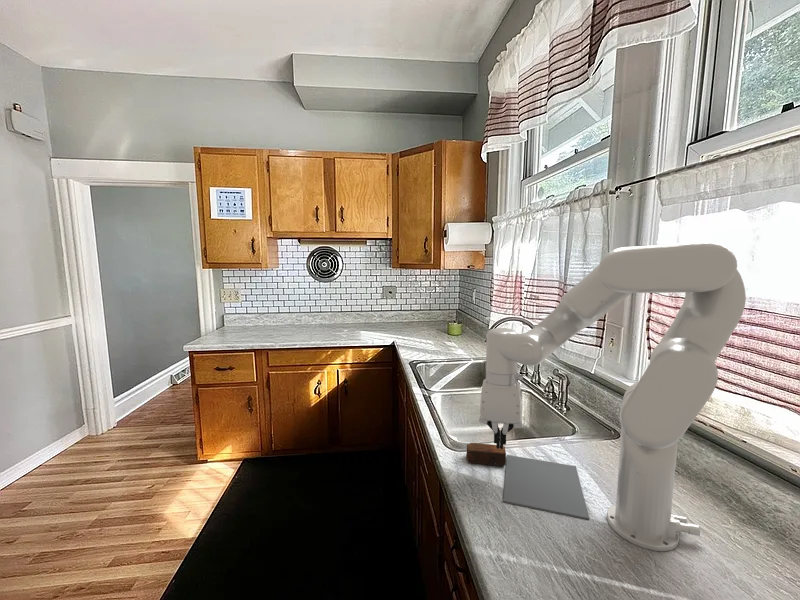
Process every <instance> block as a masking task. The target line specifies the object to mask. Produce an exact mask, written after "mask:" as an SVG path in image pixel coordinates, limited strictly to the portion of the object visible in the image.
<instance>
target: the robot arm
mask: <svg viewBox="0 0 800 600" xmlns="http://www.w3.org/2000/svg"><path fill="white" fill-rule="evenodd" d="M745 288H746V287H745V284H744V281H743V278H742V275H741V273H740V272H739V270H738V260H737V258H736V256H735V254H734V252H733V251H732V250H731V249H729V248H728V247H727V246H725V245H723V244H721V243H718V242H714V241H692V242H683V243H682V242H680V243H668V244H667V243H666V244H659V245H645V246H643V245H642V246H623V247H617V248H614V249H612V250H611V251H609V252H608V253H606V254H605V255H604V256H603V257H602V259H600V262H599V264H598V265H596V267H594V268H593V269H592V270H591V271H590V272H589V273H588V274H587V275H586V276H584V277H583V278H582V279H581V280H580V281H579V282H578V283H576V284H575V285H574V286H573V287H572V288H570V289H569V290H568V291H567V292H565V294H564V295H563V296H562V297H561V300H560V302H559V304H558V305H557V306H556V307H555V308H554V309H553V310H552V311H551V312H550V313H549V314H548V315H547V316H545V318H544V319H542V320H541V321H540V322H539V323H538V324H536V325H535V326H534V327H533V328H532V329H530V330H528V331H527V332H522V333H517V332H516V331H515V329H511V328H505V327H503V328H501V327H496V328H490V329H489V330H488V331H487V333H486V347H485V348H486V351H485V353H486V357H485V358H486V360H485V365H486V368H485V379H483V381H482V386H481V393H480V406H479V408H480V409H479V417H478V422H479V423H481V424H483V425H487V426H488V427H489V429H490V430H491V431H492V433H493V444H495V445H496V448H497V449H499V447H500V448H501V449H503V446H505V445H506V446H507V434H508V433H510V432H511V430H513V429H522V428H523V421H522V415H523V414H522V412H523V411H522V410H523V409H522V408H523V406H522V405H523V404H522V389H521V384H520V382H519V381H523V380H524V374H520V373H519V372H518V364H522V365H524V366H529V367H530V366H537V365H540V364H541V363H542V362H544V361H545V360H546V359H547V358H548V357H549V356H551V355H552V354H553V353H554V352H555V351H556V350H558V349H559V348H560V347H562V345H564V344H565V343H566V342H567V341H569V340H570V339H571V338H573V337H574V336H575V335H576V334H578V333H579V332H581V331H582V330H584V329H585V328H588V327H590V326H592V325H593V324H595V323H596V322H597V321H599V320H600V319H601V318H602V317H603V316H605V315H606V314H608V313H609V312H610V311H611V310H612V309H614V308H615V307H616V306H618V305H619V304H620V303H621V302H622V301H624V300H625V299H627V298H628V297H629V296H630V295H632V294H635V293H636V294H637V293H639V294H657V293H658V294H660V293H661V294H662V293H664V294H665V293H684V296H685V297H684V299H683V303H682V305H681V307H680V308H679V310H678V312H677V313H676V315H675V318H674V320H673V321H672V322H671V324H670V325H669V328H668V329H667V331H666V332H665V333H664V335H663V337H662V338H661V339H660V341H659V342H658V343H657V345H656V346H655V347H654V349H653V350H652V352H651V354H650V358H649V364H648V365H647V367H646V369H645V371H644V373H643V374H642V376H641V377H640V379H639V380H638V381H637V382H634V383H633V384H631V385H630V386H629V387H628V388H627V389H626V391H625V392H624V395H623V397H622V401H621V405H620V406H621V407H620V411H619V422H620V426H621V431H620V432H621V433H620V442H619V444H620V445H619V454H618V455H619V457H618V470H617V471H618V472H617V483H616V485H617V486H616V498H615V500H616V501H615V504H612V505H611V506H609V508H608V509H607V512H606V519H607V522H608V524H609V526H610V527H611V529H612V530H613V531H614V532H615V533H616V534H617V535H619V536H620V537H622V539H624V540H625V541H628V542H629V543H630V544H633V545H636V546H637V547H640V548H643V549H647V550H650V551H655V552H667V551H672V550H675V549H676V548H677V547H678V546H679V542H680V534H682V533H683V534H684V533H686V534H688V535H692V536H698V537H700V536H701V530H700V529H701V528H700V526H699V525H698V524H695V523H691V522H690V523H689V522H688V519H687V517H686V516H682V515H678V514H677V515H676V514H673V513H672V507H673V497H674V496H673V495H674V485H675V484H674V483H675V473H676V465H677V454H678V441H679V440H681V438H682V437H683V435H684V434H685V433H686V432H687V430H688V429H689V427H690V426H691V425H692V423H693V422H694V421H695V419H696V418H697V416H698V415H699V413H700V412H701V411H702V409H703V408H704V407H705V405H706V404H707V402H708V401H709V399H710V397H712V395H713V393H714V391H715V389H716V386H717V383H718V379H719V372H718V368H717V364H716V360H717V358H718V357H719V355H720V353H722V350H723V349H724V347H725V346H726V344H727V343H728V341H729V339H730V338H731V336H732V334H733V332H734V331H735V330H736V328H737V326H738V324H739V323H740V320H741V318H742V317H743V313H744V311H745V306H746V297H747V296H746V295H747V294H746V289H745ZM499 423H501V424H502V427H501V429H500V427H499Z"/></svg>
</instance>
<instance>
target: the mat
mask: <svg viewBox="0 0 800 600" xmlns="http://www.w3.org/2000/svg"><path fill="white" fill-rule="evenodd" d="M503 490H504V491H503V500H502V501H503V503H506V504H511V505H514V506H520V507H525V508H531V509H534V510H538V511H539V510H540V511H545V512H549V513H554V514H559V515H564V516H569V517H574V518H578V519H584V520H588V521H589V520H590V516H589V512H588V507H587V504H586V500H585V496H584V491H583V487H582V484H581V480H580V476H579V474H578V470H577V466H576V465H571V464H567V463H566V464H564V463H559V462H553V461H548V460H547V461H546V460H540V459H535V458H530V457H529V458H528V457H525V456H524V457H523V456H518V455H510V454H506V464H505V476H504V489H503Z"/></svg>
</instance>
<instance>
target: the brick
mask: <svg viewBox="0 0 800 600" xmlns="http://www.w3.org/2000/svg"><path fill="white" fill-rule="evenodd" d="M465 453H466V457H465V459H466V461H467V462H468V463H471V464H480V465H491V466H503V467H504V466H506V462H507V451H506V447H505V445H503V449H501V448H500V447H499V449H497V448H496V444H489V443H479V442H478V443H477V442H470V443H467V445H466V452H465Z"/></svg>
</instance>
